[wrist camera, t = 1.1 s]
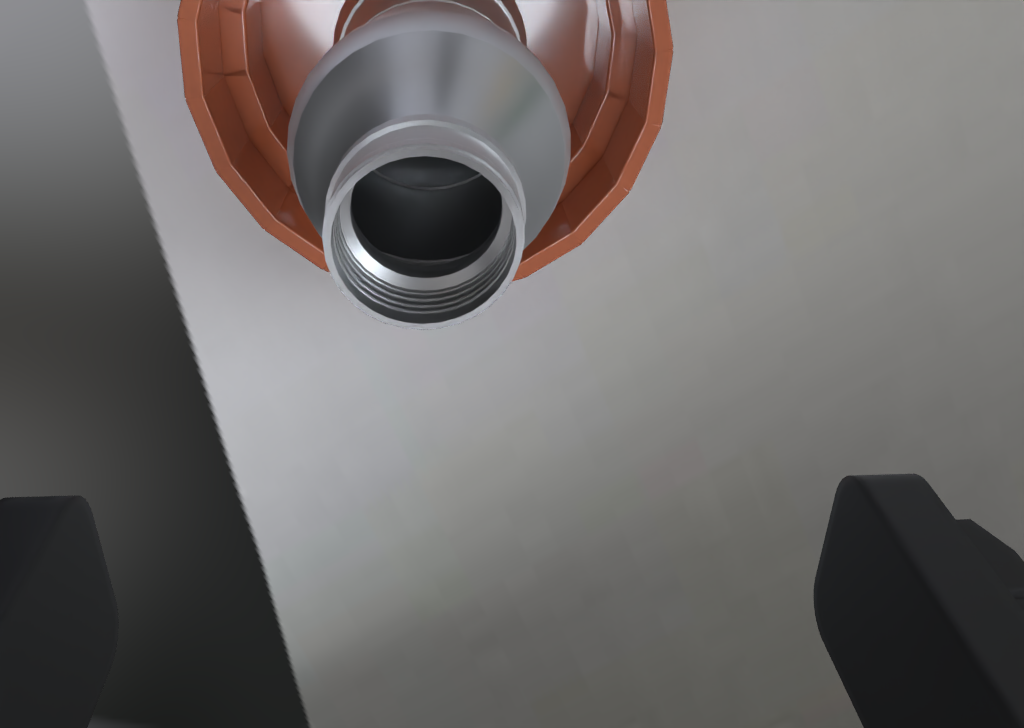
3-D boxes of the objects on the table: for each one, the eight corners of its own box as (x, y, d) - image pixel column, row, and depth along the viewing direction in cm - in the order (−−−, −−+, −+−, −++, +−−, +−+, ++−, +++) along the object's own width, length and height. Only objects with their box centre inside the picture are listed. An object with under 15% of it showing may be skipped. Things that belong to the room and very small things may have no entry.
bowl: (152, -133, 31) (88, -127, 25) (590, -259, 30) (624, -282, 25) (308, 266, 39) (286, 338, 33) (662, 175, 38) (701, 234, 32)
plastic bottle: (310, -17, 33) (163, 144, 16) (487, -88, 32) (543, -1, 15) (382, 149, 36) (327, 438, 19) (545, 88, 35) (646, 331, 18)
